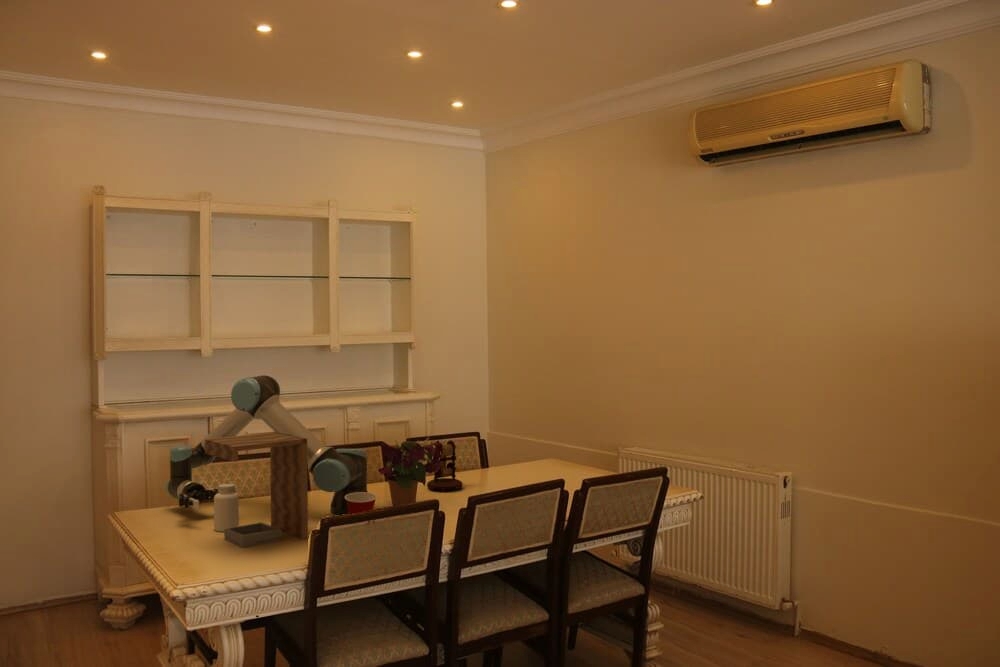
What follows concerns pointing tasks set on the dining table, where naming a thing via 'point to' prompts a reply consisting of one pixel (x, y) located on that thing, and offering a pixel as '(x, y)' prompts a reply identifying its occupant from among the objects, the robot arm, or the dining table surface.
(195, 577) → the dining table surface
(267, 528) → the tray
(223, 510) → the pill bottle
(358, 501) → the plastic cup
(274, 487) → the wooden l-shaped stand
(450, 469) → the dark mug tree
